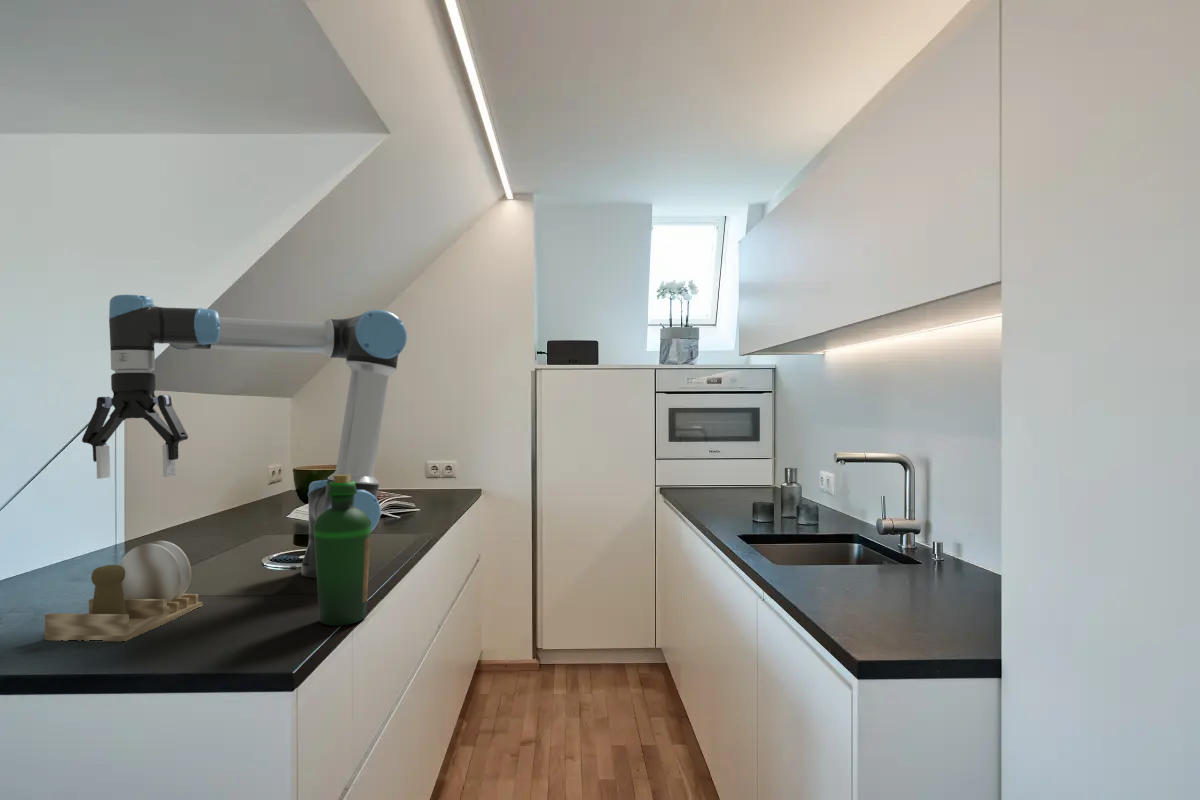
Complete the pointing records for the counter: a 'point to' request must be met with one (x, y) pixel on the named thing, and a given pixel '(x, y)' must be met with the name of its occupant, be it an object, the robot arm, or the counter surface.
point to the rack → (135, 598)
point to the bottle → (342, 556)
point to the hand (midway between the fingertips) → (136, 477)
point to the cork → (108, 590)
